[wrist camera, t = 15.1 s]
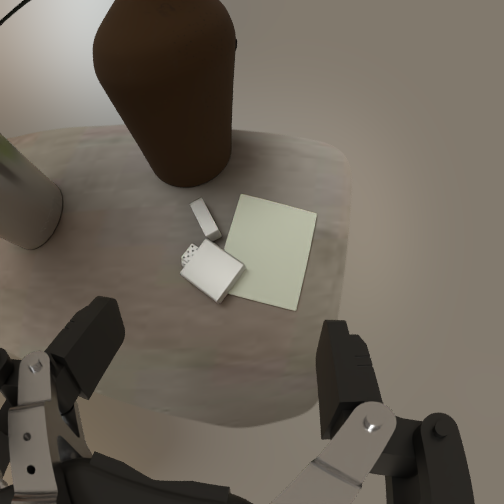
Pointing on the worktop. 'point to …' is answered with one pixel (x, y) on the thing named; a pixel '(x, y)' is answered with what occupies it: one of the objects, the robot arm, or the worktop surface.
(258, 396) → the worktop surface
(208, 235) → the lighter
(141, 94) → the olive oil
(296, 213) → the mat
